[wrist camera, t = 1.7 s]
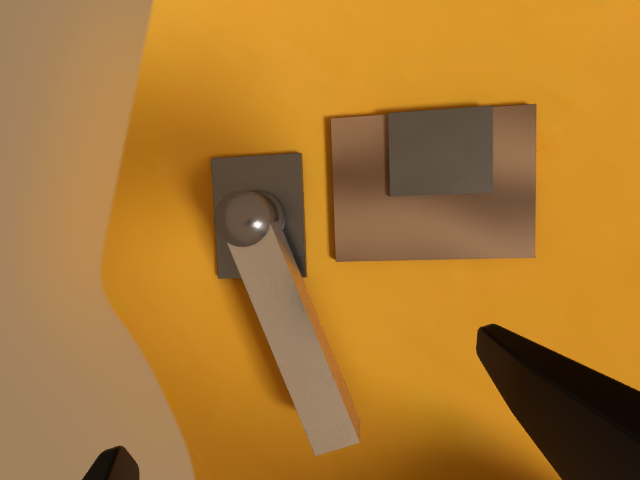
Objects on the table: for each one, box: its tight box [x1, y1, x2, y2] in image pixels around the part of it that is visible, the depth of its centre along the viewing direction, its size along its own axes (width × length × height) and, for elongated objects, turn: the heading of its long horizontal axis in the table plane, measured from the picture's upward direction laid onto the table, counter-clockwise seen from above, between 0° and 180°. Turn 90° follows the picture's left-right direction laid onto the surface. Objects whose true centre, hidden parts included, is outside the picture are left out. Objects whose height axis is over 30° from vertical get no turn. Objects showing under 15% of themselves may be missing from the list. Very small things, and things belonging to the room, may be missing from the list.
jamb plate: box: [211, 153, 307, 279], centre depth 23 cm, size 8×6×1 cm
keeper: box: [388, 106, 493, 197], centre depth 22 cm, size 5×6×1 cm
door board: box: [331, 104, 536, 262], centre depth 22 cm, size 9×12×1 cm
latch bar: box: [214, 190, 360, 456], centre depth 22 cm, size 16×3×2 cm, turn 22°
